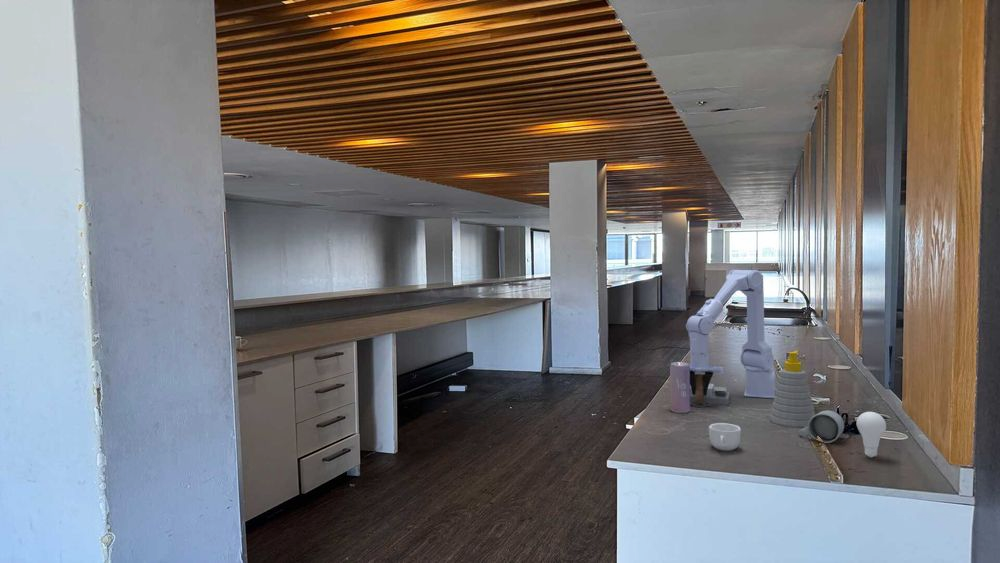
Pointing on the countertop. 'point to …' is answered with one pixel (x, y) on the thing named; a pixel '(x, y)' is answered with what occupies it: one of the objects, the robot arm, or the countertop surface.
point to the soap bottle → (792, 396)
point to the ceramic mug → (824, 426)
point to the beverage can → (680, 387)
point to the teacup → (724, 436)
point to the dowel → (699, 388)
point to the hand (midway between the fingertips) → (699, 394)
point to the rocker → (720, 389)
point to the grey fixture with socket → (713, 396)
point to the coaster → (699, 404)
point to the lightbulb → (871, 431)
